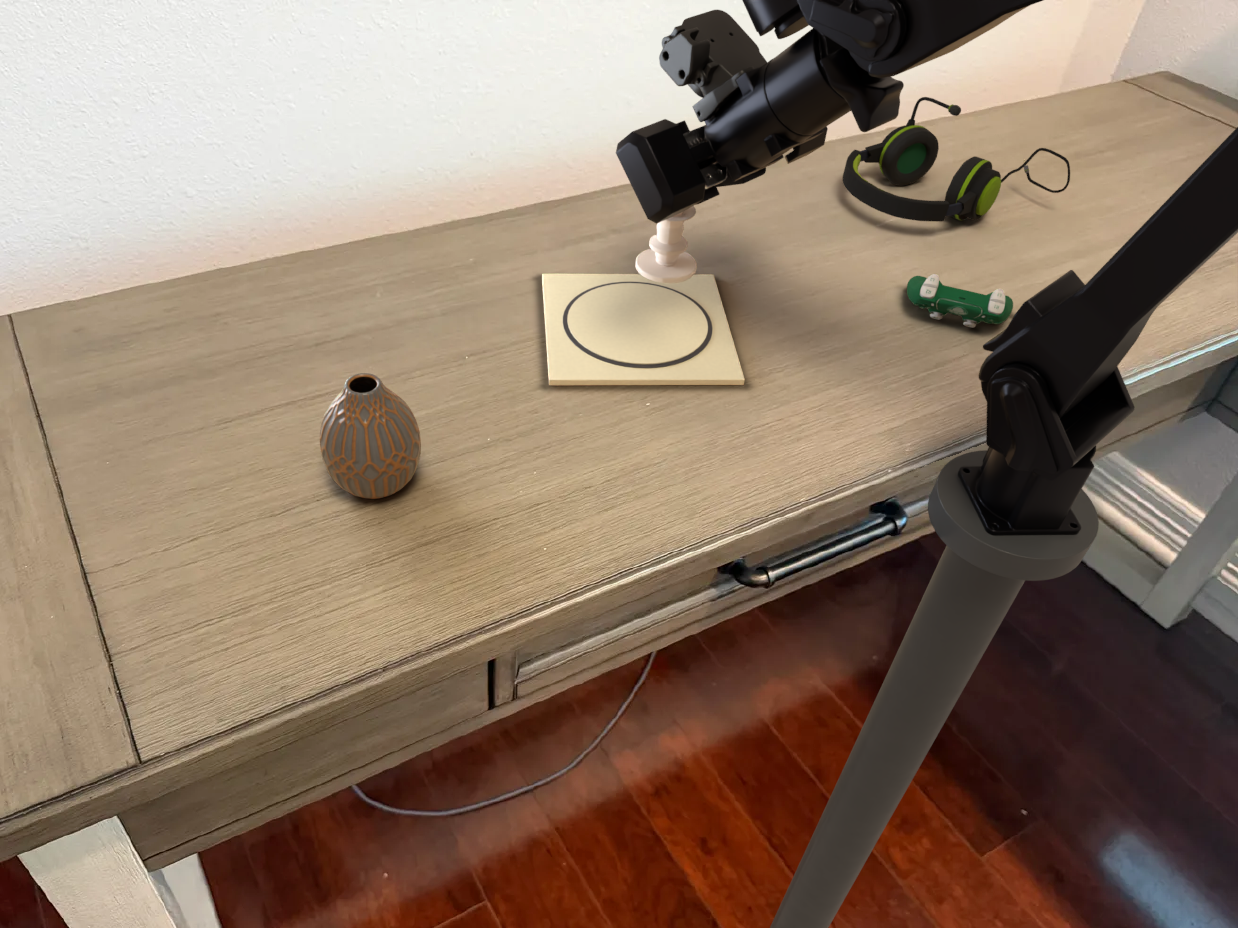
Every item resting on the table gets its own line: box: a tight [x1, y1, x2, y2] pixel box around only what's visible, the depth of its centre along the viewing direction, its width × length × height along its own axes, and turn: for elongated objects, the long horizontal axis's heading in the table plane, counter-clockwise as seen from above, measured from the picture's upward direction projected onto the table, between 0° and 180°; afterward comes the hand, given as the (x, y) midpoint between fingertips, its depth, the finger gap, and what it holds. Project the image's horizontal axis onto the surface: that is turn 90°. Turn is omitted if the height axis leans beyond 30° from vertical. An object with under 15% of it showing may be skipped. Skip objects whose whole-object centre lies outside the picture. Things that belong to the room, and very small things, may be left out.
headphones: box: [841, 96, 1071, 222], centre depth 100 cm, size 16×10×20 cm
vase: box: [319, 372, 422, 500], centre depth 68 cm, size 7×7×9 cm
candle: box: [635, 205, 698, 283], centre depth 80 cm, size 5×5×10 cm
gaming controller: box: [906, 273, 1014, 328], centre depth 87 cm, size 9×4×6 cm
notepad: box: [541, 273, 746, 386], centre depth 85 cm, size 16×16×1 cm
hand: (661, 189), depth 80 cm, fingers closed on candle
